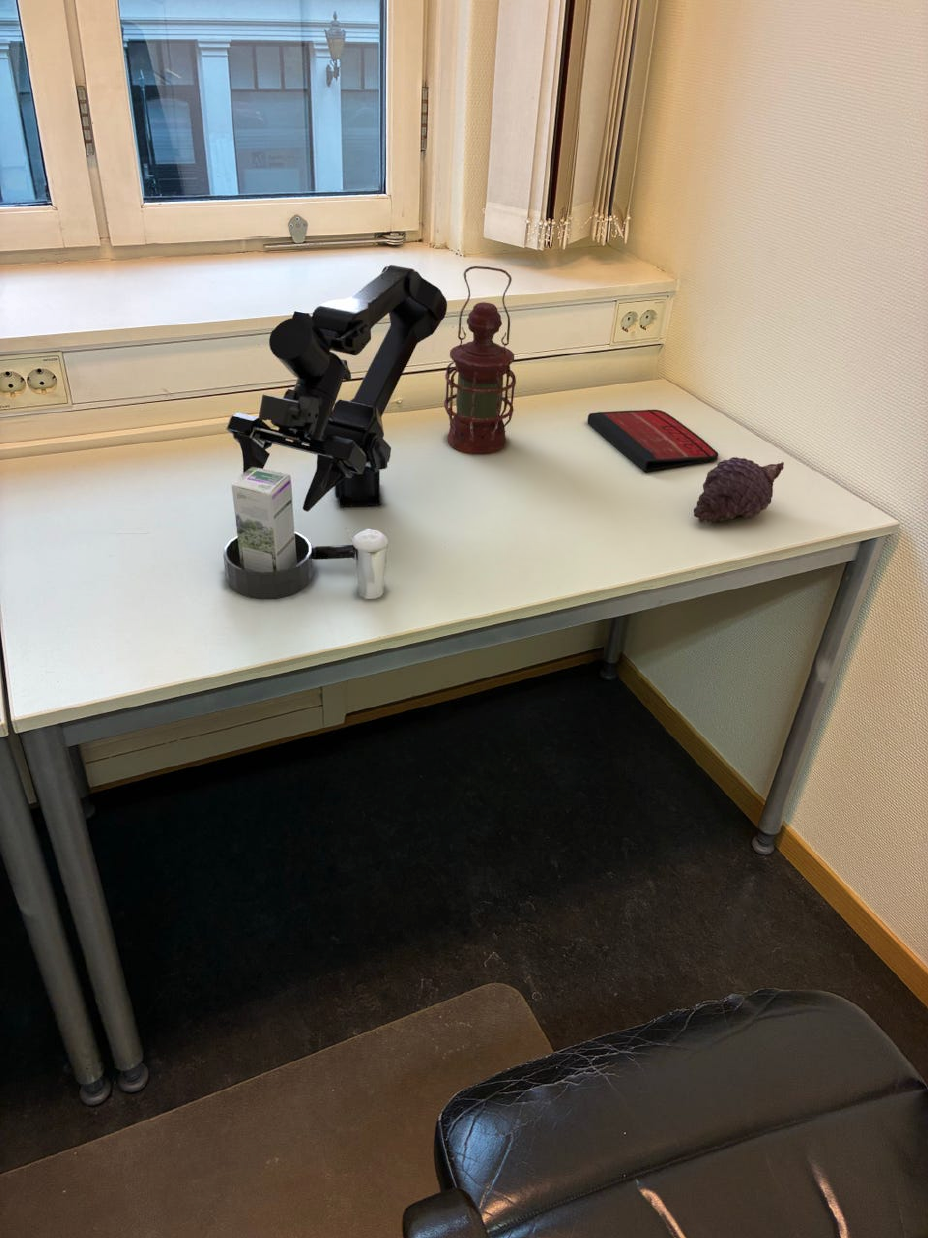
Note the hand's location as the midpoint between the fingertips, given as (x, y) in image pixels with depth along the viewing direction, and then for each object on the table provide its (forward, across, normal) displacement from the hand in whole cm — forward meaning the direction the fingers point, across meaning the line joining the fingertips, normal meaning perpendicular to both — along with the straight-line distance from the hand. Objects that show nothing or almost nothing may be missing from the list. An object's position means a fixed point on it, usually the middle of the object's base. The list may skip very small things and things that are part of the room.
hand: (275, 502), depth 122 cm
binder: (-40, +36, +54) cm, 76 cm away
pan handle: (+3, +9, +8) cm, 12 cm away
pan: (+9, 0, +5) cm, 10 cm away
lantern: (-29, +8, +43) cm, 52 cm away
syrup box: (+9, 0, +5) cm, 10 cm away
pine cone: (-26, +54, +40) cm, 72 cm away
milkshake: (+7, +14, +7) cm, 17 cm away
